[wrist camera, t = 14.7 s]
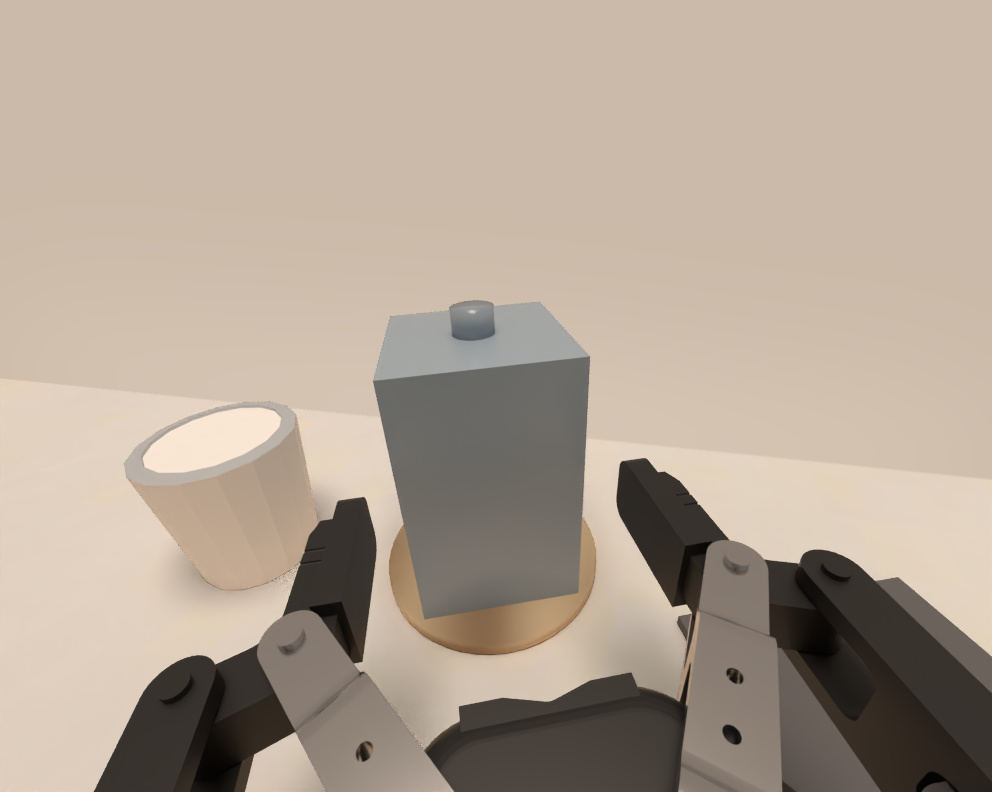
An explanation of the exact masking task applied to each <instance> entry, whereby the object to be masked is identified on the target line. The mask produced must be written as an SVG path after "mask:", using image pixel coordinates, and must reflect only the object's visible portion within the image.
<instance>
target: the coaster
mask: <svg viewBox="0 0 992 792" xmlns="http://www.w3.org/2000/svg"><path fill="white" fill-rule="evenodd" d="M595 569H596V549H595V544H594V539H593V537H592V534H591V531H590V529H589V527H588V525H587V524H586V522H585V520H584V519H583V518H582V529H581V550H580V570H579V590H578V593H576V594H571V595H565V596H559V597H553V598H547V599H541V600H535V601H530V602H524V603H518V604H512V605H506V606H500V607H494V608H489V609H483V610H477V611H471V612H465V613H459V614H453V615H448V616H442V617H436V618H430V619H424V615H423V611H422V606H421V601H420V597H419V592H418V587H417V583H416V578H415V574H414V569H413V564H412V560H411V555H410V550H409V546H408V541H407V536H406V532H405V527H404V525H403V526H402V528H401V529H400V531H399V533H398V535H397V537H396V539H395V541H394V544H393V547H392V550H391V555H390V560H389V574H390V580H391V585H392V589H393V593H394V596H395V599H396V602H397V604H398V606H399V608H400V609H401V611H402V613H403V615H404V616H405V617H406V618H407V620H408V621H409V622H410V624H412V625H413V626H414V627H415V628H416V629H417V630H418V631H419V632H420V633H422V634H423V635H425V636H426V637H428V638H429V639H431V640H432V641H434V642H436V643H438V644H441V645H443V646H445V647H447V648H451V649H454V650H457V651H461V652H467V653H473V654H502V653H510V652H514V651H518V650H522V649H526V648H529V647H531V646H534V645H536V644H539V643H541V642H543V641H545V640H547V639H548V638H550V637H552V636H554V635H555V634H557V633H558V632H559V631H560V630H562V629H563V628H564V627H566V626H567V625H568V624H569V623H570V622H571V621H572V620H573V619H574V618H575V617H576V616H577V614H578V613H579V612H580V610H581V609H582V607H583V606H584V605H585V603H586V601H587V599H588V597H589V595H590V592H591V589H592V586H593V583H594V577H595Z"/></svg>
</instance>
